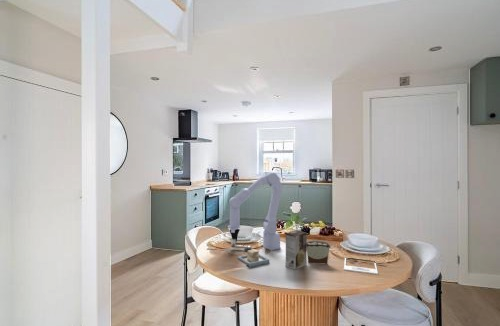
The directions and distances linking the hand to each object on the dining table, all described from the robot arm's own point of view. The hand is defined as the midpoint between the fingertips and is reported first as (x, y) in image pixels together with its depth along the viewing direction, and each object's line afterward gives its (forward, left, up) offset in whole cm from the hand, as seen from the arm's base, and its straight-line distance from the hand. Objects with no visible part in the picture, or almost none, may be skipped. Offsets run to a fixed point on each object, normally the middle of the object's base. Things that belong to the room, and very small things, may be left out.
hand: (234, 242), depth 163 cm
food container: (-27, +38, -5) cm, 47 cm away
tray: (+1, +22, -5) cm, 22 cm away
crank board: (-1, +4, -5) cm, 6 cm away
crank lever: (-2, +4, -2) cm, 5 cm away
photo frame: (-41, +53, -5) cm, 67 cm away
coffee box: (-14, +37, -5) cm, 39 cm away
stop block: (+1, +21, -4) cm, 22 cm away
